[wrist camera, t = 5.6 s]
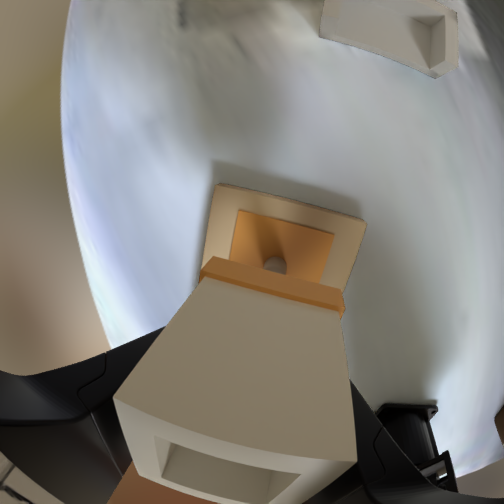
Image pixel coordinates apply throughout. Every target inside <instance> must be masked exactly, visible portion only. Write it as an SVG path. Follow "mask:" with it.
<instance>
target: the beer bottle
mask: <svg viewBox="0 0 504 504" xmlns="http://www.w3.org/2000/svg"><path fill="white" fill-rule="evenodd" d="M494 421H495V425H496V428H497V431H498V434H499V437H500V439H501V442H502V445H503V447H504V407H503V408H502V409H501V411H500V412H499V413H498V415H497V416H496V417H495V420H494Z"/></svg>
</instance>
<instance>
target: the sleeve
mask: <svg viewBox="0 0 504 504" xmlns="http://www.w3.org/2000/svg"><path fill="white" fill-rule="evenodd" d="M344 311H345V304H344V300H343V296H342V292H341V289H338V288H334V287H330V286H326V285H322V284H318V283H315V282H311V281H307V280H303V279H299V278H295V277H291V276H288V275H284V274H280V273H276V272H272V271H268V270H265V269H261V268H257V267H253V266H250V265H246V264H242V263H238V262H235V261H231V260H227V259H224V258H220V257H216V256H212V258H211V259H210V260H209V261H208V262H207V263H206V264H205V266H204V267H203V268H202V269H201V270H200V277H199V284H198V286H197V287H196V288H195V290H194V291H193V292H192V293H191V295H190V296H189V297H188V298H187V300H186V301H185V302H184V304H183V305H182V306H181V307H180V309H179V310H178V311H177V313H176V314H175V315H174V316H173V318H172V319H171V320H170V322H169V323H168V324H167V326H166V327H165V328H164V329H163V331H162V332H161V333H160V335H159V336H158V337H157V339H156V340H155V341H154V342H153V344H152V345H151V346H150V348H149V349H148V350H147V352H146V353H145V354H144V356H143V357H142V358H141V360H140V361H139V362H138V364H137V365H136V366H135V368H134V369H133V370H132V372H131V373H130V374H129V376H128V377H127V378H126V380H125V381H124V382H123V384H122V385H121V386H120V388H119V389H118V390H117V392H116V393H115V395H114V396H113V400H114V404H115V408H116V411H117V415H118V418H119V421H120V425H121V428H122V431H123V434H124V437H125V440H126V443H127V446H128V448H129V451H130V454H131V457H132V459H133V462H134V464H135V467H136V469H137V472H138V474H139V475H140V476H143V477H145V478H147V479H150V480H152V481H154V482H157V483H159V484H162V485H164V486H167V487H170V488H173V489H175V490H178V491H181V492H184V493H187V494H190V495H193V496H196V497H200V498H203V499H206V500H210V501H213V502H218V503H221V504H302V503H303V502H305V501H306V500H308V499H309V498H311V497H312V496H314V495H315V494H317V493H318V492H319V491H321V490H322V489H324V488H325V487H326V486H328V485H329V484H330V483H332V482H333V481H334V480H335V479H337V478H338V477H339V476H341V475H342V474H343V473H344V472H345V471H347V470H348V469H349V468H350V467H351V466H353V465H354V464H355V463H356V462H357V449H356V436H355V424H354V414H353V404H352V396H351V387H350V380H349V372H348V365H347V358H346V352H345V345H344V339H343V333H342V327H341V322H340V320H341V318H342V315H343V313H344Z"/></svg>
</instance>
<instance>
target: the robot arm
mask: <svg viewBox="0 0 504 504" xmlns="http://www.w3.org/2000/svg"><path fill="white" fill-rule="evenodd" d="M165 327H166V326H165ZM165 327H162V328H160V329H158V330H156V331H153V332H151V333H149V334H146V335H144V336H142V337H140V338H137V339H135V340H133V341H130V342H128V343H126V344H123V345H121V346H119V347H116V348H114V349H112V350H109V351H107V352H106V353H102V354H100V355H97V356H95V357H92V358H89V359H87V360H84V361H81V362H78V363H75V364H72V365H68V366H65V367H61V368H58V369H54V370H50V371H46V372H42V373H39V374H34V375H28V376H19V375H14V374H10V373H7V372H3V371H1V370H0V504H107V502H108V500H109V499H110V497H111V495H112V494H113V492H114V490H115V489H116V487H117V485H118V484H119V482H120V480H121V479H122V476H123V475H124V474H125V472H126V470H127V469H128V467H129V465H130V464H131V462H132V460H133V459H132V457H131V454H130V451H129V448H128V446H127V443H126V440H125V437H124V434H123V431H122V428H121V425H120V421H119V418H118V415H117V411H116V408H115V404H114V400H113V396H114V395H115V393H116V392H117V390H118V389H119V388H120V386H121V385H122V384H123V382H124V381H125V380H126V378H127V377H128V376H129V374H130V373H131V372H132V370H133V369H134V368H135V366H136V365H137V364H138V362H139V361H140V360H141V358H142V357H143V356H144V354H145V353H146V352H147V350H148V349H149V348H150V346H151V345H152V344H153V342H154V341H155V340H156V339H157V337H158V336H159V335H160V333H161V332H162V331H163V329H164V328H165ZM349 380H350V379H349ZM350 387H351V396H352V404H353V414H354V424H355V436H356V449H357V462H356V463H355V464H354V465H353V466H351V467H350V468H349V469H348V470H347V471H345V472H344V473H343V474H342V475H341V476H339V477H338V478H337V479H335V480H334V481H333V482H332V483H330V484H329V485H328V486H326V487H325V488H324V489H322V490H321V491H319V492H318V493H317V494H315V495H314V496H312V497H311V498H309V499H308V500H306V501H305V502H303V503H302V504H504V498H484V497H477V496H471V495H465V494H460V493H459V491H458V486H457V481H456V477H455V472H454V468H453V464H452V461H451V458H450V454H449V451H448V450H447V451H445V452H443V453H442V454H441V455H439V454H438V450H437V446H436V442H435V439H434V435H433V432H432V428H431V425H430V422H429V421H430V419H431V418H432V417H433V416H434V415H435V414H436V413H437V412H438V407H437V406H430V405H403V404H384V405H382V406H381V407H380V408H379V410H378V411H377V412H376V413H375V414H374V412H373V411H372V410H371V408H370V407H369V405H368V404H367V402H366V401H365V400H364V398H363V397H362V395H361V394H360V393H359V391H358V390H357V388H356V387H355V386H354V384H353V383H352V381H351V380H350ZM445 473H447V476H444V477H442V478H439V476H441V475H443V474H445Z"/></svg>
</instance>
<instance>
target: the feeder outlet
mask: <svg viewBox="0 0 504 504" xmlns="http://www.w3.org/2000/svg"><path fill="white" fill-rule="evenodd" d="M319 37H321V38H325V39H329V40H333V41H337V42H341V43H344V44H348V45H351V46H355V47H358V48H361V49H364V50H367V51H370V52H373V53H376V54H379V55H382V56H384V57H387V58H390V59H392V60H395V61H397V62H400V63H402V64H405V65H407V66H409V67H412V68H414V69H416V70H418V71H420V72H423V73H425V74H427V75H429V76H431V77H433V78H435V79H436V78H438V77H440V76H442V75H444V74H446V73H448V72H450V71H452V70H454V69H456V68H458V22H457V12H455V11H453V10H451V9H449V8H448V7H446V6H444V5H442V4H440V3H438V2H436V1H434V0H324V5H323V10H322V15H321V24H320V32H319Z"/></svg>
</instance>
